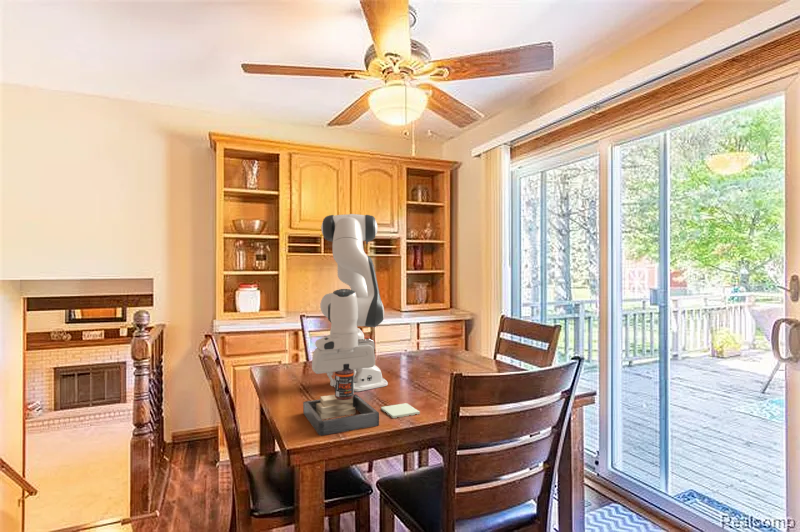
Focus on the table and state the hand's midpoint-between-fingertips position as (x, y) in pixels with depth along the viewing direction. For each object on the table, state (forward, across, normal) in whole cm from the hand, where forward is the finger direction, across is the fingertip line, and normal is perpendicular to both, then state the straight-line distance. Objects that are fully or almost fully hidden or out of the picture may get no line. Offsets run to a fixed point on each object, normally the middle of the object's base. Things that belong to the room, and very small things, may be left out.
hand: (344, 383), depth 136 cm
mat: (+13, -21, -2) cm, 24 cm away
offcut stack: (+13, 0, -9) cm, 16 cm away
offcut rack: (+13, 0, -4) cm, 13 cm away
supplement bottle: (+5, 0, 0) cm, 5 cm away
